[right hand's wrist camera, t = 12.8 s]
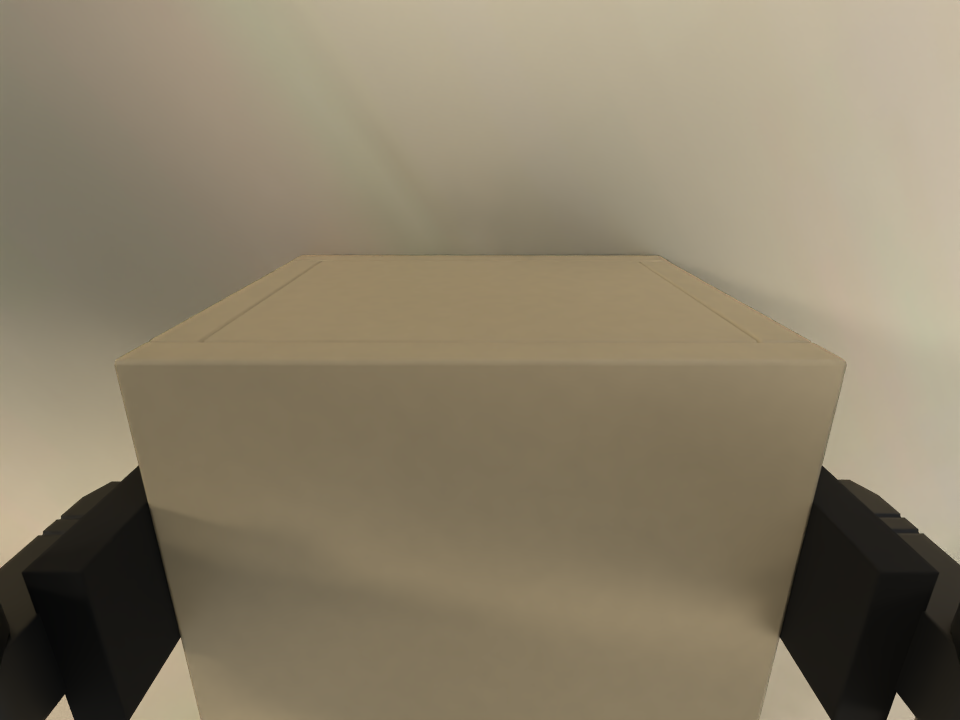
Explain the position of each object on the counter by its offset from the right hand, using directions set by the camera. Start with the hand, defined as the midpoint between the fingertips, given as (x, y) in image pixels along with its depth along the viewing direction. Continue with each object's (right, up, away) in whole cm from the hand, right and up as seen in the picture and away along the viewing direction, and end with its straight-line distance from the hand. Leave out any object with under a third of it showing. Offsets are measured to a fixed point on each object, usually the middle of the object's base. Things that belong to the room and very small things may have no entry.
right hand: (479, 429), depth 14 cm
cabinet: (0, -5, +5) cm, 7 cm away
